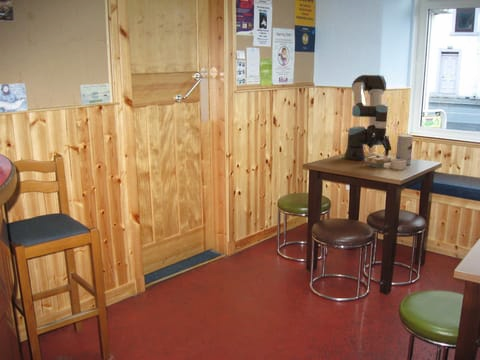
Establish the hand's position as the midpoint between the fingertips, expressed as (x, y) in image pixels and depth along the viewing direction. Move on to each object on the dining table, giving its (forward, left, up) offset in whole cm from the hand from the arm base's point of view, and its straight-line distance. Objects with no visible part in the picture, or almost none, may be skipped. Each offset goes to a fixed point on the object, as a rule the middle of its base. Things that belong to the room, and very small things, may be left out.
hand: (378, 158), depth 349 cm
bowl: (+10, +9, -6) cm, 15 cm away
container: (+1, +24, -6) cm, 25 cm away
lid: (0, 0, -2) cm, 2 cm away
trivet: (0, 0, -6) cm, 6 cm away
